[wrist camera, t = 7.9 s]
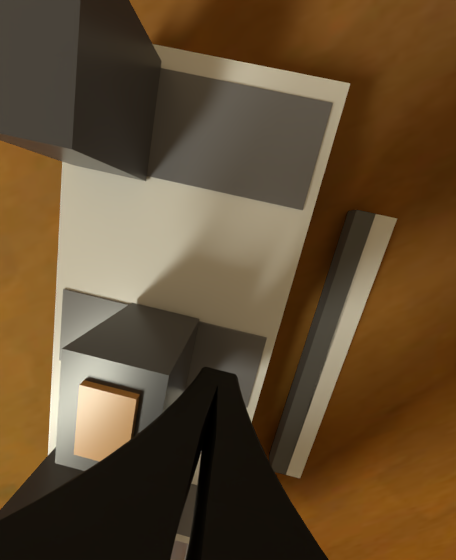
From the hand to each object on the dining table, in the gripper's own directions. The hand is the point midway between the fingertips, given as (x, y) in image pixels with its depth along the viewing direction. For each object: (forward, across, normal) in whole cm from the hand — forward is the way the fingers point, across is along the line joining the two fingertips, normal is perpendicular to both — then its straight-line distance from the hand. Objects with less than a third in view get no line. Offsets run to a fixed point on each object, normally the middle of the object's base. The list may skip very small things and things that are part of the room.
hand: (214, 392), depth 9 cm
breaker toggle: (+2, +3, 0) cm, 3 cm away
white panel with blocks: (+5, +3, 0) cm, 6 cm away
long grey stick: (+5, -5, 0) cm, 7 cm away
